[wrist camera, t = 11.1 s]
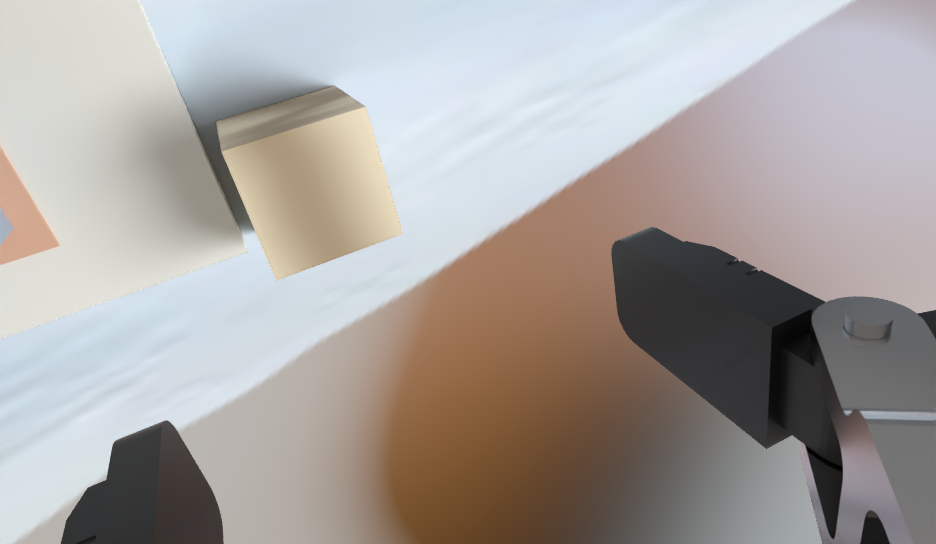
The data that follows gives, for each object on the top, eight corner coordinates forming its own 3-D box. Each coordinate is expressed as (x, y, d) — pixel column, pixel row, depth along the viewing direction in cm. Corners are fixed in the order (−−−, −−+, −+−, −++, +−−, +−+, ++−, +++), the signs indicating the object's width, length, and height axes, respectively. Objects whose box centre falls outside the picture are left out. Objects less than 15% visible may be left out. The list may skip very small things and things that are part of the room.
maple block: (334, 85, 23) (365, 106, 19) (368, 193, 26) (403, 233, 21) (215, 120, 22) (221, 151, 18) (262, 230, 24) (276, 280, 20)
